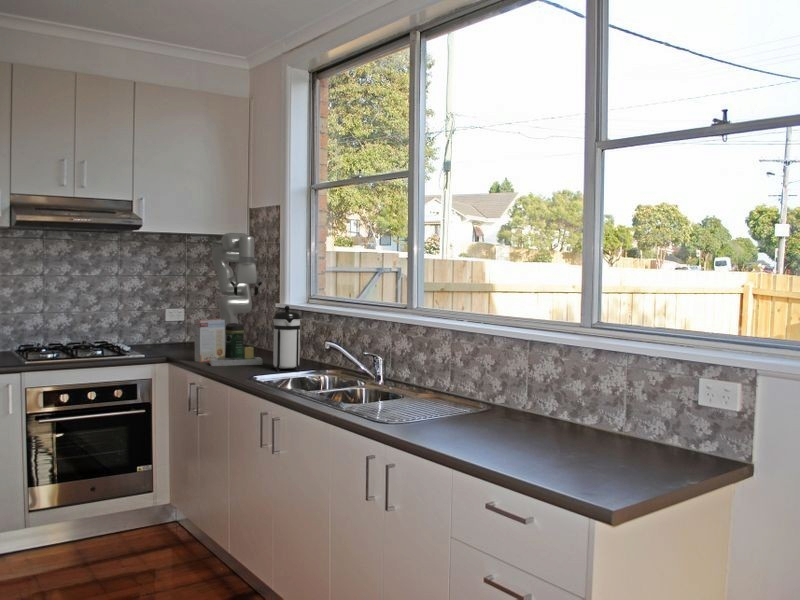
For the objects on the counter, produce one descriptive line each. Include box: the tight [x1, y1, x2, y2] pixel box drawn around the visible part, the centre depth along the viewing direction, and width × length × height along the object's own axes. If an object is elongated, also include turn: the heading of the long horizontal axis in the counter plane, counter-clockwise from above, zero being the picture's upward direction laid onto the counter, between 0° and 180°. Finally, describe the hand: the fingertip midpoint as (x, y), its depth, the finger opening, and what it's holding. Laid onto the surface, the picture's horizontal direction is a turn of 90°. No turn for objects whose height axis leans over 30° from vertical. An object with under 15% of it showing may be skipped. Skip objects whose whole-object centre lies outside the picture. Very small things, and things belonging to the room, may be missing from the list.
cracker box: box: [193, 318, 225, 363], centre depth 359 cm, size 14×6×21 cm, turn 135°
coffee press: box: [271, 305, 302, 371], centre depth 338 cm, size 17×16×30 cm
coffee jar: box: [225, 323, 245, 358], centre depth 369 cm, size 10×8×19 cm
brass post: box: [243, 346, 255, 359], centre depth 351 cm, size 4×4×8 cm
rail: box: [209, 356, 263, 367], centre depth 349 cm, size 8×24×3 cm, turn 110°
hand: (246, 295), depth 360 cm, fingers open, 9 cm apart
